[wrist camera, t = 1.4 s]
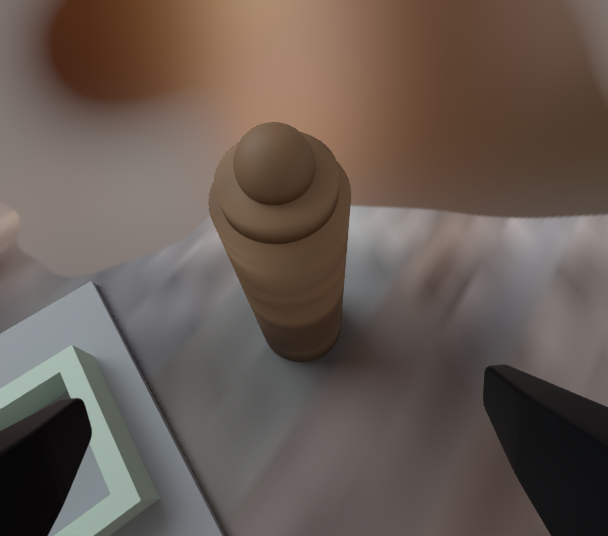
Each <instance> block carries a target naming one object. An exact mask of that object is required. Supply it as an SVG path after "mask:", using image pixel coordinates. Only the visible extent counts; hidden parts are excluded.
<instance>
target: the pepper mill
mask: <svg viewBox="0 0 608 536" xmlns="http://www.w3.org/2000/svg"><path fill="white" fill-rule="evenodd" d="M350 203H351V189H350V183H349V180H348V177H347V175H346V173H345V171H344V170H343V168H342V167H341V165H340V164H339V163H338V162H337V161H336V159H335V157H334V155H333V153H332V152H331V150H330V149H329V148H328V147H327V146H326V145H325V144H323V143H322V142H321V141H319V140H318V139H316V138H315V137H312V136H310V135H308V134H305V133H302V132H299V131H298V130H297V129H295V128H293V127H291V126H289V125H287V124H283V123H278V122H270V123H264V124H261V125H258V126H256V127H254V128H252V129H251V130H250V131H248V132H247V133H246V134H245V135H244V136H243V137H242V138H241V140H240V141H239V142H238V143H237V144H235V145H234V146H233V147H231V148H230V149H229V150H228V151H227V152H226V153H225V155H224V156H223V157H222V159H221V160H220V162H219V164H218V166H217V168H216V172H215V175H214V182H213V184H212V187H211V190H210V194H209V211H210V215H211V218H212V221H213V223H214V225H215V228H216V230H217V232H218V234H219V236H220V239H221V241H222V243H223V245H224V248H225V250H226V252H227V254H228V257H229V259H230V261H231V263H232V265H233V268H234V270H235V272H236V274H237V277H238V279H239V281H240V283H241V286H242V288H243V290H244V292H245V295H246V297H247V299H248V301H249V303H250V306H251V308H252V310H253V312H254V315H255V317H256V319H257V321H258V324H259V326H260V328H261V330H262V332H263V335H264V337H265V339H266V341H267V343H268V345H269V346H270V347H271V349H272V350H273V351H274V352H275V353H277V354H278V355H279V356H281V357H283V358H285V359H288V360H291V361H298V362H304V361H311V360H314V359H317V358H319V357H321V356H322V355H324V354H325V353H327V352H328V351H329V350H330V349H331V348H332V347H333V345H334V344H335V342H336V340H337V338H338V336H339V333H340V327H341V315H342V302H343V290H344V278H345V265H346V253H347V241H348V228H349V216H350Z"/></svg>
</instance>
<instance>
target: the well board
mask: <svg viewBox="0 0 608 536" xmlns="http://www.w3.org/2000/svg"><path fill="white" fill-rule="evenodd" d="M70 398H80V399H82V400H83V401H84V403H85V406H86V410H87V413H88V417H89V420H90V424H91V427H92V437H91V440H90V443H89V446H88V448H87V450H86V453H85V455H84V458H83V460H82V462H81V465H80V467H79V470H78V472H77V475H76V477H75V479H74V482H73V484H72V487H71V489H70V491H69V494H68V496H67V498H66V501H65V503H64V505H63V507H62V509H61V511H60V513H59V515H58V517H57V519H56V521H55V523H54V525H53V527H52V529H51V531H50V533H49V535H48V536H225V534H224V532H223V530H222V528H221V526H220V524H219V522H218V520H217V519H216V517H215V515H214V513H213V511H212V509H211V507H210V505H209V503H208V501H207V499H206V497H205V495H204V493H203V491H202V489H201V487H200V486H199V484H198V482H197V480H196V478H195V476H194V474H193V472H192V470H191V468H190V466H189V464H188V462H187V460H186V458H185V456H184V455H183V453H182V451H181V449H180V447H179V445H178V443H177V441H176V439H175V437H174V435H173V433H172V431H171V429H170V427H169V425H168V423H167V422H166V420H165V418H164V416H163V414H162V412H161V410H160V408H159V406H158V404H157V402H156V400H155V398H154V396H153V394H152V392H151V390H150V389H149V387H148V385H147V383H146V381H145V379H144V377H143V375H142V373H141V371H140V369H139V367H138V365H137V363H136V361H135V359H134V358H133V356H132V354H131V352H130V350H129V348H128V346H127V344H126V342H125V340H124V338H123V336H122V334H121V332H120V330H119V328H118V326H117V325H116V323H115V321H114V319H113V317H112V315H111V313H110V311H109V309H108V307H107V305H106V303H105V301H104V299H103V297H102V295H101V293H100V292H99V290H98V288H97V286H96V284H95V283H94V282H92V281H91V282H89V283H87V284H85V285H84V286H82V287H80V288H79V289H77V290H75V291H73V292H72V293H70V294H68V295H66V296H65V297H63V298H61V299H60V300H58V301H56V302H54V303H53V304H51V305H49V306H48V307H46V308H44V309H42V310H41V311H39V312H37V313H36V314H34V315H32V316H30V317H29V318H27V319H25V320H23V321H22V322H20V323H18V324H17V325H15V326H13V327H11V328H10V329H8V330H6V331H5V332H3V333H1V334H0V431H1V430H3V429H5V428H7V427H9V426H11V425H13V424H15V423H16V422H18V421H20V420H22V419H24V418H26V417H28V416H30V415H32V414H34V413H36V412H38V411H40V410H42V409H44V408H45V407H47V406H49V405H51V404H53V403H55V402H57V401H59V400H62V399H70Z"/></svg>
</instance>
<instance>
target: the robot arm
mask: <svg viewBox="0 0 608 536" xmlns="http://www.w3.org/2000/svg"><path fill="white" fill-rule="evenodd" d="M483 402H484V407H485V410H486V412H487V414H488V416H489V418H490V421H491V423H492V425H493V427H494V429H495V432H496V434H497V436H498V438H499V440H500V443H501V445H502V447H503V449H504V451H505V454H506V456H507V458H508V460H509V462H510V464H511V467H512V469H513V471H514V473H515V475H516V476H517V478H518V480H519V482H520V484H521V485H522V487H523V489H524V490H525V492H526V494H527V495H528V497H529V499H530V501H531V502H532V504H533V506H534V507H535V509H536V511H537V512H538V514H539V516H540V518H541V519H542V521H543V523H544V524H545V526H546V528H547V529H548V531H549V533H550V535H551V536H608V407H606V406H604V405H601V404H599V403H596V402H594V401H592V400H589V399H587V398H585V397H582V396H580V395H577V394H575V393H573V392H570V391H568V390H566V389H563V388H561V387H558V386H556V385H554V384H551V383H549V382H547V381H544V380H542V379H539V378H537V377H535V376H532V375H530V374H527V373H525V372H523V371H520V370H518V369H516V368H513V367H511V366H508V365H504V364H502V365H490V366H488V367H487V368H486V369H485V373H484V391H483ZM91 437H92V427H91V424H90V420H89V417H88V413H87V410H86V406H85V403H84V401H83V400H82V399H80V398H70V399H62V400H59V401H57V402H55V403H53V404H51V405H49V406H47V407H45V408H44V409H42V410H40V411H38V412H36V413H34V414H32V415H30V416H28V417H26V418H24V419H22V420H20V421H18V422H16V423H15V424H13V425H11V426H9V427H7V428H5V429H3V430H1V431H0V536H48V535H49V533H50V531H51V529H52V527H53V525H54V523H55V521H56V519H57V517H58V515H59V513H60V511H61V509H62V507H63V505H64V503H65V501H66V498H67V496H68V494H69V491H70V489H71V487H72V484H73V482H74V479H75V477H76V475H77V472H78V470H79V467H80V465H81V462H82V460H83V458H84V455H85V453H86V450H87V448H88V446H89V443H90V440H91Z"/></svg>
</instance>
